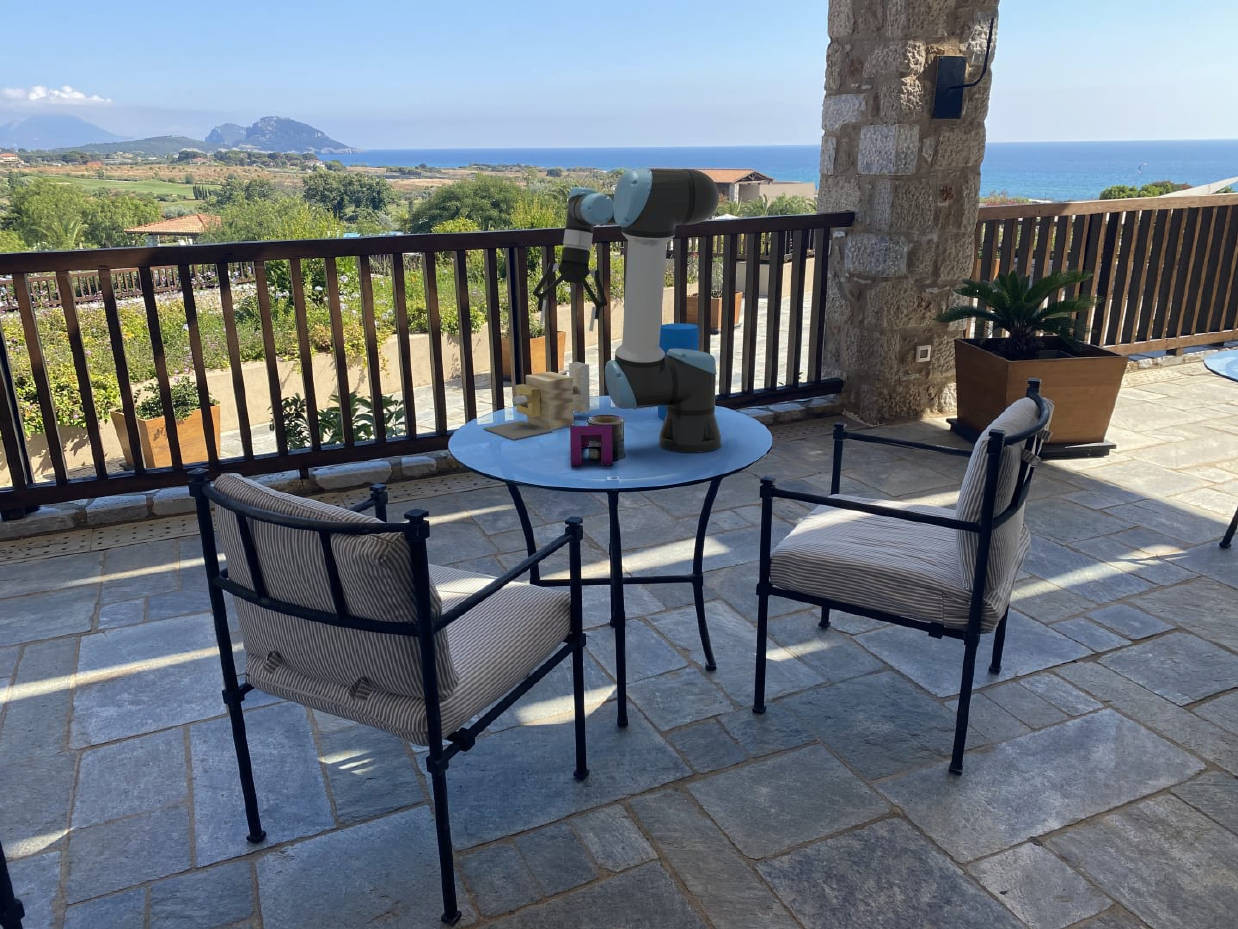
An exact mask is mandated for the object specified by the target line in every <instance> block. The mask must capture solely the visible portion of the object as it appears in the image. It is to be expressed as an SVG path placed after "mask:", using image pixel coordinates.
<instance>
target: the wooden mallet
mask: <svg viewBox="0 0 1238 929" xmlns="http://www.w3.org/2000/svg"><path fill="white" fill-rule="evenodd" d="M568 376H570V377H573V412H575V413H578V414H584V413H589V412H591V408H590V407H591V406H590V404H591V403H590V400H591V398H590V396H591V395H590V393H591V392H590V364H588V363H583V362H579V361H576V362H570V363H568ZM539 398H540V401H541V392H539ZM511 401H512V404H513V406H515V407H517V406H518V405H523V404H528V402H527V396H525V395H521V396H516V395H515V396H513V397H512V400H511Z"/></svg>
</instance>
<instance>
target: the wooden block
mask: <svg viewBox="0 0 1238 929" xmlns="http://www.w3.org/2000/svg"><path fill="white" fill-rule="evenodd" d="M525 385H529V386H532V387H536V388H539V392H541V401H540V416H536V417H530V416H527V415H526V417H527V418H526V419H527V420H526V422H528V423H531V424H534V425H537V426H540V427H542V428H545V429H548V430H551V431H553V430H558V429H561V428H562V427H563V428H566V427H565V426H568V427H570V426H569V425H572V424H575V421H574V411H573V377H570V376H569V375H566V374H561V373H557V372H553V371H543V372H539V373H533V374H526V375H525ZM572 426H573V425H572ZM563 428H562V429H563Z"/></svg>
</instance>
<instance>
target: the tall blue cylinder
mask: <svg viewBox="0 0 1238 929" xmlns="http://www.w3.org/2000/svg"><path fill="white" fill-rule="evenodd" d="M699 335H700V331H699V326H698V325H697V324H692V323H665V324H661V329H660V342H659V347H660V348H661V349H662V350H663V351H664V352H665V357H667V352H668V350H669V349H689V350H696V351H699V343H700V342H699V338H700V336H699ZM666 414H667V406H657V418H658V417H659V418H660V419H659V418H658V419H659V420H661V419H662V420H661V421H663V420H665V417H666Z"/></svg>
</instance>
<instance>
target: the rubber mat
mask: <svg viewBox="0 0 1238 929" xmlns="http://www.w3.org/2000/svg"><path fill="white" fill-rule="evenodd" d="M483 430H484V431H486V432H489V433H492V434H494V435H497V436H499V437H503V438H505V439H508V440H510V441H513V442H515V441H518V440H525V439H528V438H533V437H537V436H541V435H546V434H551V433H553V430H548V429H545V428H542V427H540V426H537V425H534V424H531V423H528V422H527V421H524V420H522V419H521V420H516V421H513V422H508V423H503V424H497V425H493V426H487V427H483Z"/></svg>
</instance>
